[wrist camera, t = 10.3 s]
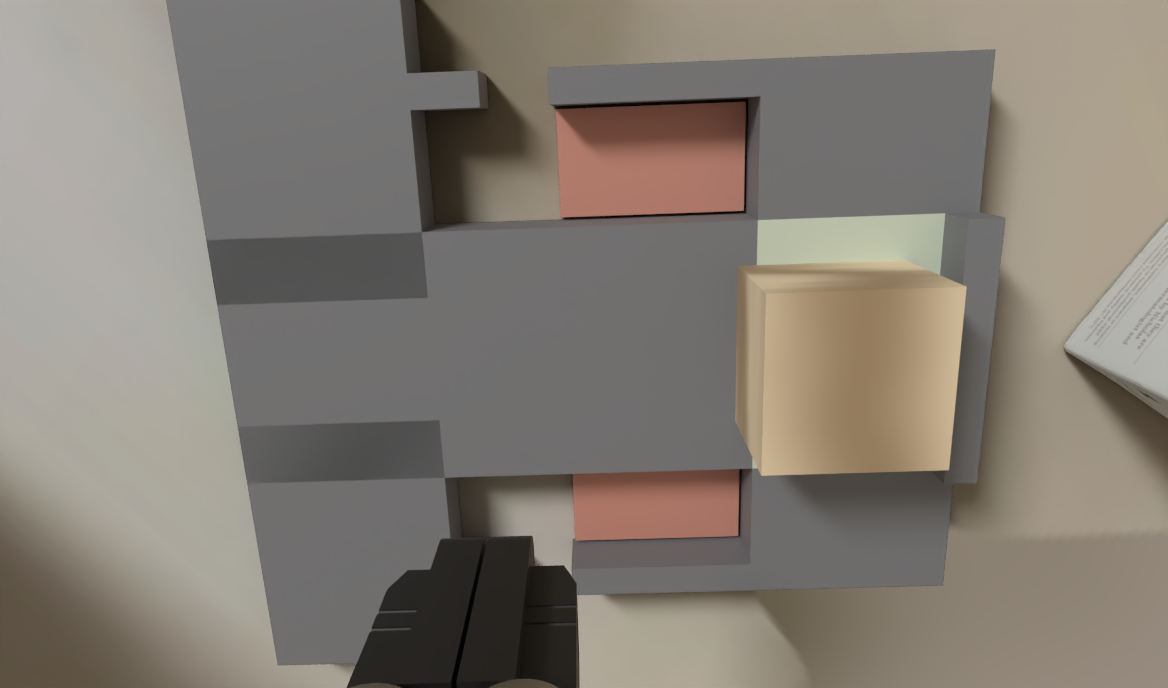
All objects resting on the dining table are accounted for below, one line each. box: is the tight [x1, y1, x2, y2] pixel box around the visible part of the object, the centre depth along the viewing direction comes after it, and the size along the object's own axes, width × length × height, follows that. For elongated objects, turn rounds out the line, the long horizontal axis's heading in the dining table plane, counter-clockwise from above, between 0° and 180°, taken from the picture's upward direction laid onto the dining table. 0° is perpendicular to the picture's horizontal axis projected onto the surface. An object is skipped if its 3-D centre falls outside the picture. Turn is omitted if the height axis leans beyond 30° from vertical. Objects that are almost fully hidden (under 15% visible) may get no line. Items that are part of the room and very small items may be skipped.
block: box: [735, 260, 967, 476], centre depth 22 cm, size 5×5×4 cm
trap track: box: [166, 0, 1005, 665], centre depth 25 cm, size 23×22×4 cm
